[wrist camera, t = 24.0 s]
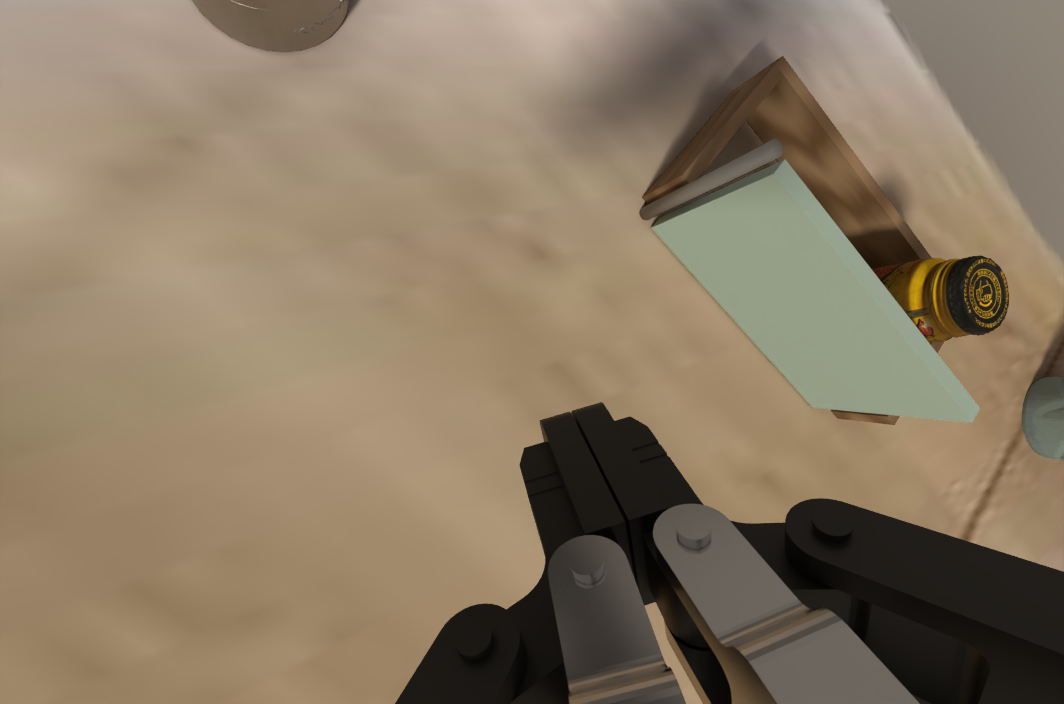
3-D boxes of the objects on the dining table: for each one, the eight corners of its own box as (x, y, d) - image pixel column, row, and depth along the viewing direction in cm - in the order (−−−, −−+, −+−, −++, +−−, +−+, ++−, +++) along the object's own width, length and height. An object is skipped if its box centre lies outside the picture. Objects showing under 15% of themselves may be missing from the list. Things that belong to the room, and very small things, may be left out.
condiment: (820, 256, 45) (978, 220, 34) (879, 314, 48) (1045, 299, 36) (784, 324, 44) (936, 310, 33) (846, 381, 46) (1009, 386, 35)
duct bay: (642, 197, 39) (682, 175, 35) (734, 89, 43) (782, 55, 38) (837, 418, 46) (894, 424, 41) (906, 310, 49) (966, 304, 44)
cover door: (636, 214, 39) (763, 148, 27) (645, 203, 40) (775, 133, 28) (810, 407, 45) (981, 423, 33) (817, 396, 45) (989, 408, 33)
